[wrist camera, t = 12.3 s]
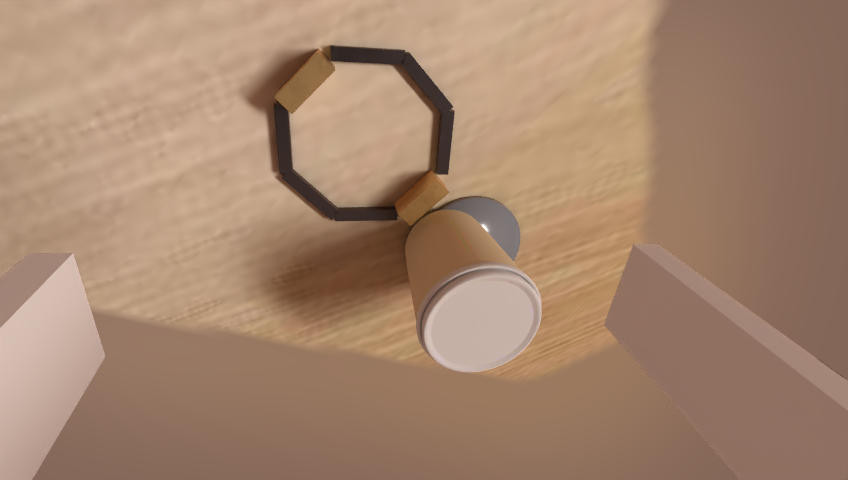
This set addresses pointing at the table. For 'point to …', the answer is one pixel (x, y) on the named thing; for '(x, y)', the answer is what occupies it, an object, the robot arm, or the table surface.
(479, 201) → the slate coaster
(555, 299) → the table surface
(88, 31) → the table surface
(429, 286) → the coffee cup
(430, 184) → the socket ring
